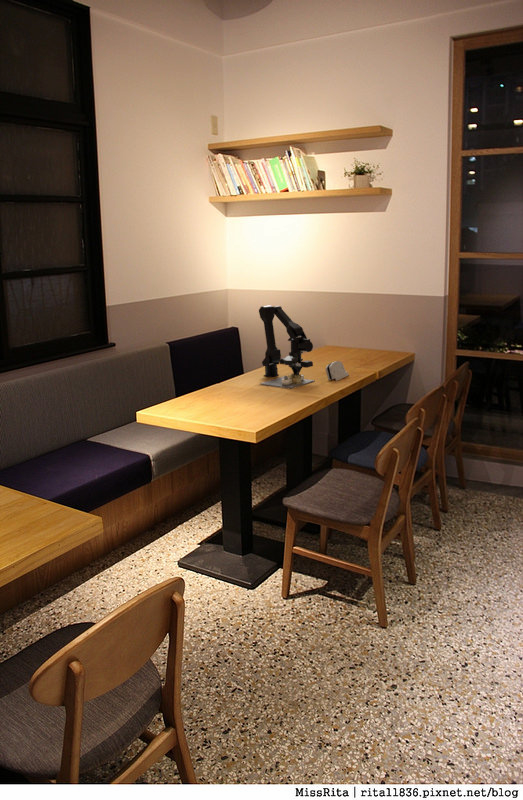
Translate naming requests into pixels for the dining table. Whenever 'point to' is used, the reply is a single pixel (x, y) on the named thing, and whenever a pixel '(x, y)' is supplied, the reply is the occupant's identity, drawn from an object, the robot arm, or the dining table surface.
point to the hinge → (336, 371)
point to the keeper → (295, 378)
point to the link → (289, 380)
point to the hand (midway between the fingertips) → (296, 378)
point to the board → (278, 383)
